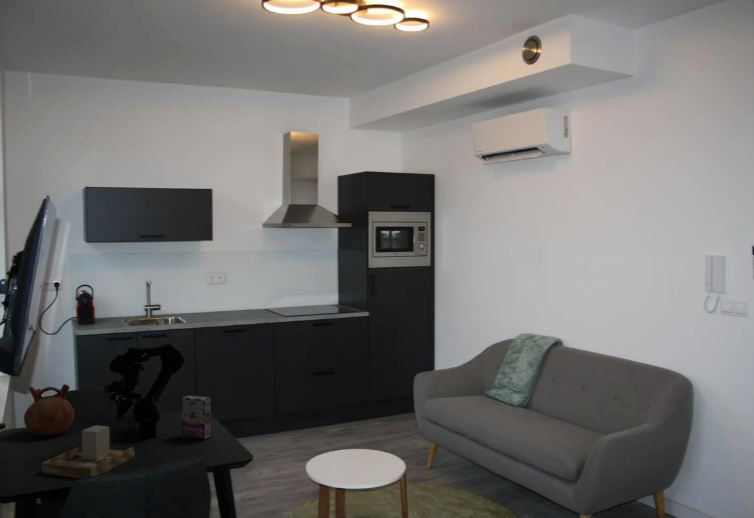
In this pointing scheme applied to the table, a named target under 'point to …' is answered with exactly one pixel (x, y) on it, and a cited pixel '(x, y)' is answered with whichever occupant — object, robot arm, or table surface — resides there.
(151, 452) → the table surface
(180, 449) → the table surface
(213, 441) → the table surface
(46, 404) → the jug
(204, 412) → the candy bar box
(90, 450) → the cream block
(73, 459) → the wooden tray
